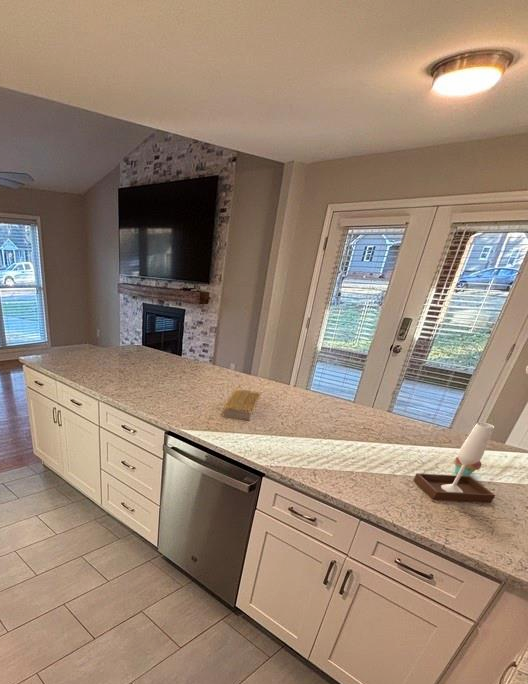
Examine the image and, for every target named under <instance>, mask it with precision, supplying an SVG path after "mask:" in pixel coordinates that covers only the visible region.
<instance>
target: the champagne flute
mask: <svg viewBox="0 0 528 684" xmlns="http://www.w3.org/2000/svg"><path fill="white" fill-rule="evenodd" d="M494 429H495V426H494V425H493V424H491V423H488V422H483V421H479V422H478V421H477V422H476V424H475V425H474V427H473V428H472V430H471V431H470V433H469V434H468V436H467V438H466V439H465V441H464V442H463V444H462V445H461V447H460V448H459V450H458V451H457V457H458V458H459V460H460V462H461V463H462V464H463V465H462V467H461V469H460V470H459V472H458V474H457V473H456V474H457V476H456V478H455V480H454V482H453V484H446V485H442V486H441V488H442V489H443V490H445V491H447V492H461V493H463V491H462V490H461V489H460V488H459V487H458V486H457V483H458V481H459V479H460V477H461V476H462V473H463V471H464V470H465V468H466V466H467V465H471V464H475V463H477V462H479V461H480V462H481V460H482V458H483V457H484V455H485V454H484V453H485V451H486V449H487V446H488V444H489V441H490V439H491V437H492V434H493V432H494Z"/></svg>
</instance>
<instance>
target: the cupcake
mask: <svg viewBox="0 0 528 684" xmlns="http://www.w3.org/2000/svg"><path fill="white" fill-rule="evenodd" d="M453 464H455V467H454V473H455V474H458V472H459V470H460V469H461V467H462V465H463V464H462V463H461V462H460V460H459V458H458V456H456V457H455V459H454V460H453ZM481 467H482V462H481V460H480V461H479V462H477V463H475V464H471V465H467V466H466V468H465V470H464V471H463V473H462V475H461V476H471V475H472V474H473V473H474V472H475V471H479V470H481Z"/></svg>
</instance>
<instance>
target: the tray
mask: <svg viewBox="0 0 528 684" xmlns="http://www.w3.org/2000/svg"><path fill="white" fill-rule="evenodd" d="M456 476H457V475H456V474H455V475H454V474H451V475H450V474H439V473H438V474H436V473H418V472H417V473H415V476H414V478H413V480H412V481H413V482H414V483H415V484H416V485H417V486H418V487H419V488H420V489H421V490H423V492H424V493H426V495H428V496H429V497H430V498H431V500H433V501H449V502H468V503H483V504H484V503H486V504H491V503H492V502H493V500H494V499H495V497H496V494H494V493H493V492H492V491H491V490H490V489H488V488H487V487H485V486H484V485H483V484H481V483H480V482H479V481H477V480H476V479H475V478H474V477H473V476H471V475H469V476H462V475H461V477H460V479H459V481H458V483H457V486H458V487H459V488H460V489H461V490H462V491H463V493H461V492H447V491H445V490H443V489H442V488H441V486H442V485H446V484H453V482H454V480H455V478H456Z"/></svg>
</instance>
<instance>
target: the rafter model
mask: <svg viewBox="0 0 528 684" xmlns="http://www.w3.org/2000/svg"><path fill="white" fill-rule="evenodd" d="M261 395H262V392H258V391H253V390H248V389H234V390H233V391H232V393H231V394H230V396H229V398H228V400H227V401H226V403H225V404H224V405H223V407H222V410H223V417H228V418H234V419H240V420H246V421H250V420H251V418H252V415H253V413H254V412H255V410H256V409H255V408H256V406H257V405H258V402H259V399H260V397H261Z"/></svg>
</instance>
